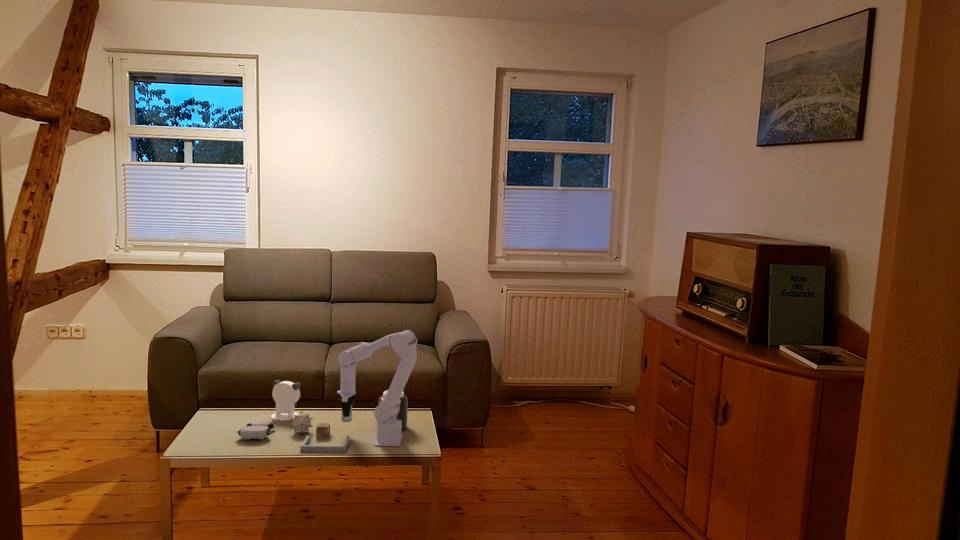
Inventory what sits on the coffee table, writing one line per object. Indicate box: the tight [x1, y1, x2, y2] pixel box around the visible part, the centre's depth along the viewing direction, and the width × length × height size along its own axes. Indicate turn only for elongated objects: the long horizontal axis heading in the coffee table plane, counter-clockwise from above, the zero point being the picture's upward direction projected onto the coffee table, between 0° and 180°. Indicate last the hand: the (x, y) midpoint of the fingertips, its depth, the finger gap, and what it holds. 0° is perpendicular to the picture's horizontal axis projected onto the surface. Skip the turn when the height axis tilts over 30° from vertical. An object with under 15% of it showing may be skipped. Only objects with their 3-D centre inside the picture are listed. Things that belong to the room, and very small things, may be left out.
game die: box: [289, 410, 314, 436], centre depth 239 cm, size 9×8×10 cm
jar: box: [378, 389, 409, 433], centre depth 248 cm, size 12×12×15 cm
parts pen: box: [300, 434, 351, 453], centre depth 227 cm, size 16×11×2 cm
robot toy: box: [234, 421, 277, 441], centre depth 234 cm, size 12×4×15 cm
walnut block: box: [315, 422, 331, 439], centre depth 237 cm, size 4×4×4 cm
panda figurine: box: [270, 379, 302, 422], centre depth 257 cm, size 12×11×15 cm
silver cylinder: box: [341, 405, 353, 423], centre depth 238 cm, size 4×4×6 cm
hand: (347, 414), depth 238 cm, fingers closed on silver cylinder, 4 cm apart
